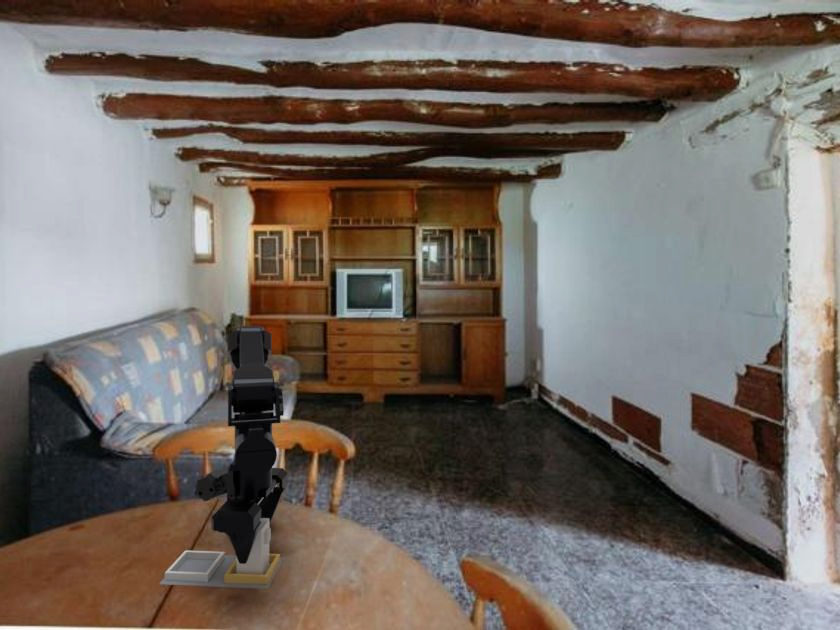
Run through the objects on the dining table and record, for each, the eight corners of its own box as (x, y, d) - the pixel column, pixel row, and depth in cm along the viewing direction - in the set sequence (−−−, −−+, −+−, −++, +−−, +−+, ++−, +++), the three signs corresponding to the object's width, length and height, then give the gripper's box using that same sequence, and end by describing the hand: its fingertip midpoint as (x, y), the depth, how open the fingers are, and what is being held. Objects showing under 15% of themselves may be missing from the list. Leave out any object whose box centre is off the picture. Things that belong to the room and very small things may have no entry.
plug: (236, 577, 84) (236, 528, 83) (245, 564, 88) (245, 517, 87) (265, 578, 84) (265, 530, 83) (272, 565, 88) (273, 518, 87)
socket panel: (158, 587, 82) (158, 576, 81) (186, 557, 91) (186, 546, 90) (267, 592, 81) (267, 581, 81) (284, 560, 90) (284, 550, 90)
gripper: (226, 434, 94) (226, 519, 95) (175, 473, 75) (175, 578, 76) (288, 436, 93) (288, 522, 94) (252, 476, 75) (252, 581, 76)
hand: (253, 547), depth 85 cm, fingers open, 9 cm apart
